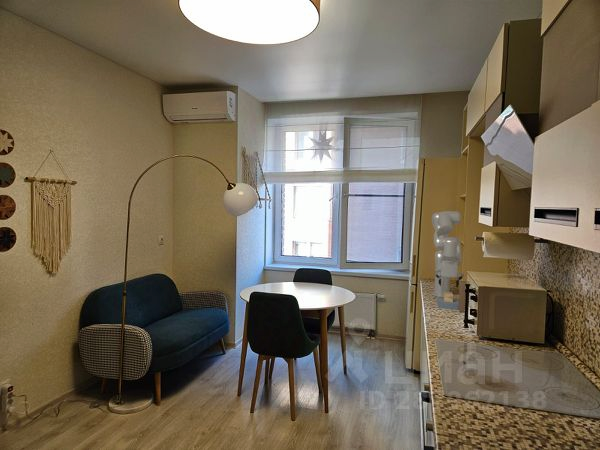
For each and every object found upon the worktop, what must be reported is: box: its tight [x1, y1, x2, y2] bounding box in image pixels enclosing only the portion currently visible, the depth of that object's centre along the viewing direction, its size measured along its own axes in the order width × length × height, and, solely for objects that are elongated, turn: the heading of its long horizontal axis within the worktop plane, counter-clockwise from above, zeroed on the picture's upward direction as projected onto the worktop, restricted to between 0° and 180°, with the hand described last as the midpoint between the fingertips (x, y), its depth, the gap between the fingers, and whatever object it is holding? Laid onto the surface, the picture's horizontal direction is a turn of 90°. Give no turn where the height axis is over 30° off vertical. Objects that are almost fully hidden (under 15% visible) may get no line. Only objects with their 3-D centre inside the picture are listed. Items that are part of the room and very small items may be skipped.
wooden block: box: [458, 280, 468, 313], centre depth 218 cm, size 9×4×18 cm, turn 75°
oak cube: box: [442, 291, 454, 302], centre depth 229 cm, size 5×5×5 cm
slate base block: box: [436, 297, 459, 311], centre depth 230 cm, size 12×12×4 cm
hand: (448, 286), depth 230 cm, fingers open, 9 cm apart
